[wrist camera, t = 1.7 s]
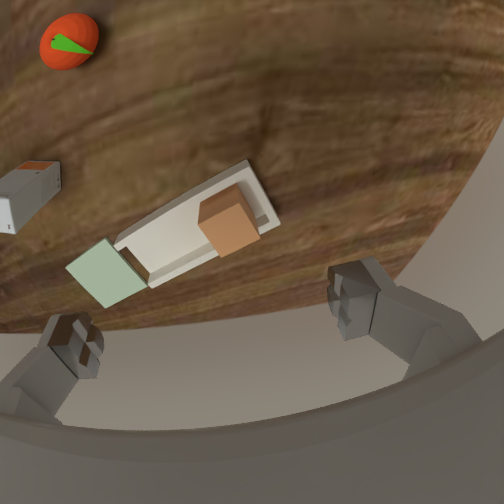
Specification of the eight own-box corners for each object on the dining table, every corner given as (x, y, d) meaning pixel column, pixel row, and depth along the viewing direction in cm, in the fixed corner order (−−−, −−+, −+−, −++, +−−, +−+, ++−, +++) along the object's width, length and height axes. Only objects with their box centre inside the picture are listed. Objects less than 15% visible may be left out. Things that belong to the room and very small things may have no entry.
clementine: (125, 30, 22) (103, 21, 16) (94, 80, 25) (67, 84, 19) (77, 11, 19) (49, 2, 13) (49, 59, 22) (17, 61, 16)
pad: (106, 236, 37) (104, 238, 36) (148, 283, 42) (147, 286, 42) (66, 265, 39) (65, 267, 38) (106, 305, 44) (105, 308, 43)
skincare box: (60, 160, 30) (10, 199, 20) (62, 189, 32) (16, 236, 22) (27, 159, 28) (-26, 196, 18) (29, 187, 30) (-19, 230, 21)
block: (235, 182, 34) (239, 202, 29) (254, 213, 37) (260, 238, 32) (200, 201, 35) (197, 224, 30) (220, 231, 38) (221, 257, 33)
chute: (246, 158, 33) (249, 166, 31) (276, 213, 38) (280, 224, 35) (119, 233, 37) (113, 245, 34) (154, 275, 41) (151, 288, 39)
